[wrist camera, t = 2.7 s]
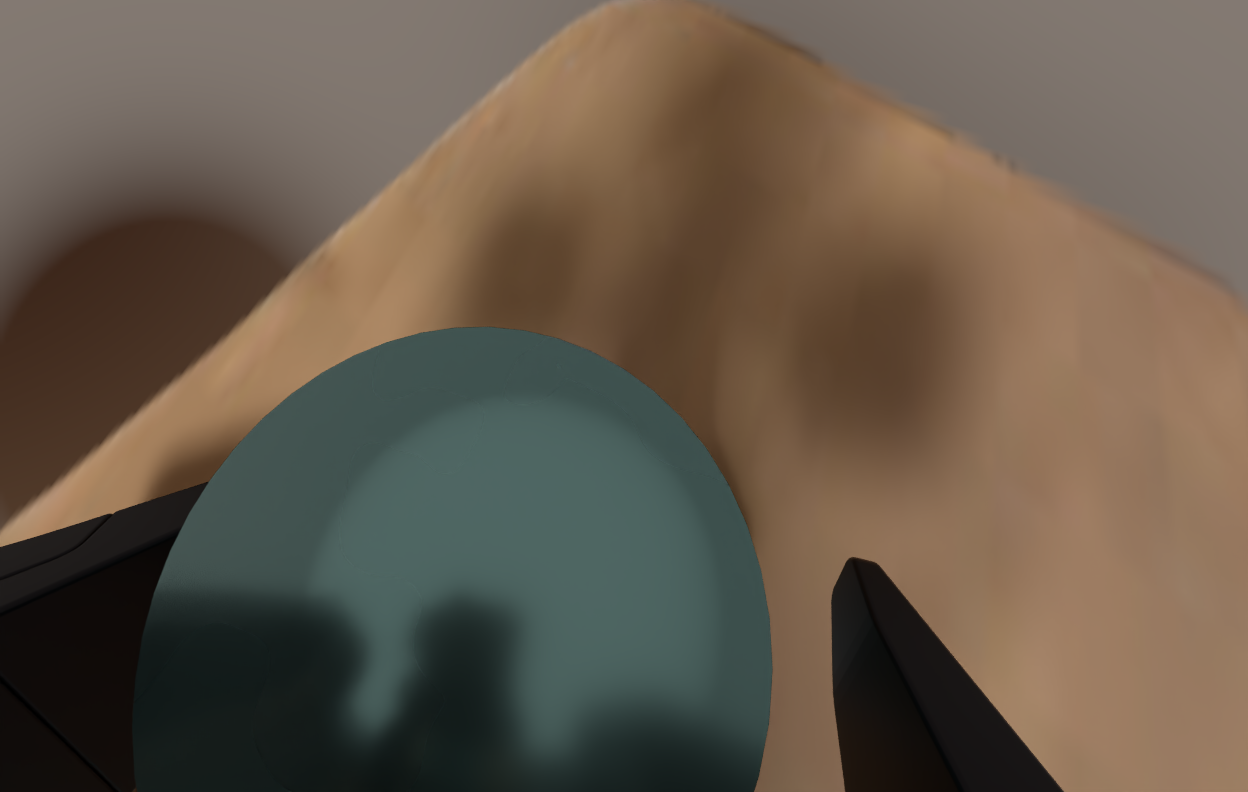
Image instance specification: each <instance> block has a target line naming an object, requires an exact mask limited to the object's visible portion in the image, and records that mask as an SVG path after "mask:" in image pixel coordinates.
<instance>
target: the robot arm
mask: <svg viewBox="0 0 1248 792" xmlns="http://www.w3.org/2000/svg"><path fill="white" fill-rule="evenodd" d="M208 483H209V482H206V483H203V484H200V485H197V486H194V487H191V488H188V489H184V490H181V491H178V492H175V493H172V494H169V495H166V496H163V497H160V498H156V499H153V500H150V501H147V502H144V503H141V504H138V505H135V506H132V507H129V508H125V509H122V510H119V511H117V512H115V513H114V514H106V515H103V516H100V517H97V518H94V519H91V520H88V521H85V522H82V523H79V524H75V525H72V526H69V527H66V528H62V529H59V530H56V531H53V532H50V533H46V534H43V535H40V536H37V537H33V538H30V539H27V540H23V541H20V542H16V543H13V544H9V545H6V546H2V547H0V792H133V791H134V790H135V788H136V781H135V775H134V756H133V735H132V721H133V704H134V688H135V677H136V671H137V665H138V660H139V654H140V648H141V642H142V636H143V632H144V628H145V625H146V621H147V617H148V614H149V610H150V606H151V603H152V599H153V595H154V592H155V589H156V587H157V584H158V582H159V579H160V576H161V574H162V571H163V569H164V566H165V563H166V561H167V558H168V556H169V553H170V551H171V549H172V547H173V545H174V543H175V541H176V539H177V537H178V535H179V533H180V531H181V529H182V527H183V525H184V523H185V521H186V519H187V517H188V515H189V513H190V511H191V510H192V508H193V507H194V505H195V503H196V502H197V500H198V499H199V497H200V495H201V494H202V492H203V491H204V489H205V488H206V486H207V484H208ZM831 613H832V676H833V697H834V707H835V716H836V723H837V731H838V739H839V747H840V755H841V762H842V770H843V778H844V786H845V792H1064V791H1063V790H1062V789H1061V788H1060V786H1059V785H1058V784H1057V783H1056V781H1055V780H1054V779H1053V778H1052V777H1051V775H1050V774H1049V773H1048V772H1047V770H1046V769H1045V768H1044V767H1043V765H1042V764H1041V763H1040V762H1039V761H1038V759H1037V758H1036V757H1035V756H1034V754H1033V753H1032V752H1031V751H1030V750H1029V748H1028V747H1027V746H1026V745H1025V743H1024V742H1023V741H1022V740H1021V739H1020V737H1019V736H1018V735H1017V734H1016V732H1015V731H1014V730H1013V729H1012V728H1011V726H1010V725H1009V724H1008V723H1007V721H1006V720H1005V719H1004V718H1003V716H1002V715H1001V714H1000V713H999V712H998V710H997V709H996V708H995V707H994V705H993V704H992V703H991V702H990V701H989V699H988V698H987V697H986V696H985V694H984V693H983V692H982V691H981V690H980V688H979V687H978V686H977V685H976V683H975V682H974V681H973V680H972V678H971V677H970V676H969V675H968V674H967V672H966V671H965V670H964V669H963V667H962V666H961V665H960V664H959V663H958V661H957V660H956V659H955V658H954V656H953V655H952V654H951V653H950V652H949V650H948V649H947V648H946V647H945V645H944V644H943V643H942V642H941V641H940V639H939V638H938V637H937V636H936V634H935V633H934V632H933V631H932V629H931V628H930V627H929V626H928V625H927V623H926V622H925V621H924V620H923V618H922V617H921V616H920V615H919V614H918V612H917V611H916V610H915V609H914V607H913V606H912V605H911V604H910V603H909V601H908V600H907V599H906V598H905V596H904V595H903V594H902V593H901V591H900V590H899V589H898V588H897V587H896V585H895V584H894V583H893V582H892V580H891V579H890V578H889V577H888V576H887V574H886V573H885V572H884V571H883V569H882V568H881V567H880V566H879V565H878V564H877V563H875V562H872V561H868V560H864V559H860V558H856V557H851V558H849V559H848V560H847V562H846V563H845V565H844V567H843V570H842V572H841V574H840V576H839V578H838V580H837V582H836V584H835V586H834V589H833V592H832V600H831Z"/></svg>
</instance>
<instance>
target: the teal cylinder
mask: <svg viewBox="0 0 1248 792" xmlns="http://www.w3.org/2000/svg"><path fill="white" fill-rule="evenodd" d="M771 684H772V652H771V635H770V618H769V612H768V607H767V601H766V596H765V590H764V584H763V579H762V573H761V569H760V566H759V562H758V559H757V556H756V553H755V549H754V546H753V543H752V540H751V536H750V533H749V530H748V527H747V524H746V522H745V520H744V518H743V515H742V513H741V511H740V509H739V506H738V504H737V502H736V500H735V498H734V495H733V493H732V491H731V489H730V486H729V484H728V483H727V481H726V480H725V478H724V476H723V475H722V473H721V471H720V470H719V468H718V467H717V465H716V463H715V462H714V460H713V458H712V457H711V455H710V453H709V452H708V450H707V449H706V447H705V446H704V445H703V444H702V442H701V441H700V440H699V439H698V437H697V436H696V435H695V434H694V432H693V431H692V430H691V429H690V428H689V426H688V425H687V424H686V423H685V421H684V420H683V419H682V418H681V417H680V416H679V415H678V414H677V413H676V412H675V411H674V410H673V409H672V408H671V407H670V406H669V405H668V404H667V403H666V402H665V401H664V400H663V399H662V398H661V397H659V396H658V395H657V394H656V393H655V392H654V391H653V390H652V389H650V388H649V387H648V386H646V385H645V384H644V383H642V382H641V381H640V380H638V379H637V378H635V377H634V376H633V375H631V374H630V373H629V372H627V371H626V370H624V369H623V368H621V367H619V366H618V365H616V364H614V363H612V362H610V361H608V360H607V359H605V358H603V357H601V356H599V355H597V354H595V353H594V352H592V351H590V350H587V349H584V348H582V347H579V346H576V345H574V344H571V343H569V342H566V341H563V340H561V339H558V338H554V337H550V336H545V335H541V334H537V333H533V332H529V331H524V330H515V329H505V328H495V327H465V328H450V329H444V330H437V331H430V332H423V333H419V334H415V335H411V336H408V337H404V338H400V339H397V340H393V341H390V342H386V343H384V344H381V345H379V346H376V347H374V348H371V349H369V350H367V351H364V352H362V353H359V354H357V355H354V356H352V357H350V358H349V359H347V360H345V361H343V362H341V363H339V364H337V365H336V366H334V367H332V368H330V369H328V370H326V371H325V372H323V373H321V374H320V375H318V376H317V377H315V378H314V379H312V380H311V381H310V382H308V383H307V384H305V385H304V386H302V387H301V388H299V389H298V390H296V391H295V392H294V393H292V394H291V395H290V396H289V397H287V398H286V399H285V400H284V401H283V402H282V403H280V404H279V405H278V406H277V407H276V408H275V409H273V410H272V411H271V412H270V413H269V414H268V415H266V416H265V417H264V418H263V419H262V420H261V421H260V422H259V423H258V424H257V425H256V426H255V427H254V428H253V429H252V430H251V431H250V433H249V434H248V435H247V436H246V437H245V438H244V439H243V440H242V441H241V442H240V443H239V444H238V445H237V446H236V447H235V449H234V450H233V451H232V452H231V454H230V455H229V456H228V458H227V459H226V460H225V461H224V463H223V464H222V465H221V467H220V468H219V469H218V470H217V472H216V473H215V474H214V476H213V477H212V478H211V480H210V481H209V483H208V484H207V486H206V488H205V489H204V491H203V492H202V494H201V495H200V497H199V499H198V500H197V502H196V503H195V505H194V507H193V508H192V510H191V511H190V513H189V515H188V517H187V519H186V521H185V523H184V525H183V527H182V529H181V531H180V533H179V535H178V537H177V539H176V541H175V543H174V545H173V547H172V549H171V551H170V553H169V556H168V558H167V561H166V563H165V566H164V569H163V571H162V574H161V576H160V579H159V582H158V584H157V587H156V589H155V592H154V595H153V599H152V603H151V606H150V610H149V614H148V617H147V621H146V625H145V628H144V632H143V636H142V642H141V648H140V654H139V660H138V665H137V671H136V677H135V688H134V704H133V721H132V735H133V756H134V775H135V781H136V787H137V792H754V790H755V787H756V783H757V780H758V777H759V773H760V767H761V762H762V757H763V752H764V746H765V741H766V736H767V730H768V725H769V715H770V700H771Z"/></svg>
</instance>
